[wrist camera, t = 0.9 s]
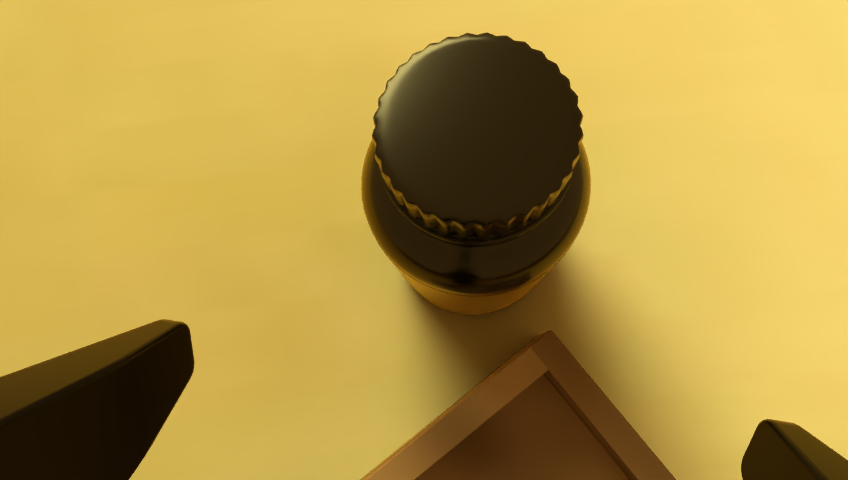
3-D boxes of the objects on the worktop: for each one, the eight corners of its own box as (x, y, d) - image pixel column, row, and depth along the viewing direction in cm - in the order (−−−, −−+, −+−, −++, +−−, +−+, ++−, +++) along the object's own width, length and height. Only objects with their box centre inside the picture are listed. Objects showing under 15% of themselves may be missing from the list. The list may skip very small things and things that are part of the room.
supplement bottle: (374, 207, 24) (286, 56, 12) (506, 150, 24) (545, -55, 12) (432, 344, 22) (394, 322, 10) (574, 281, 22) (696, 189, 10)
